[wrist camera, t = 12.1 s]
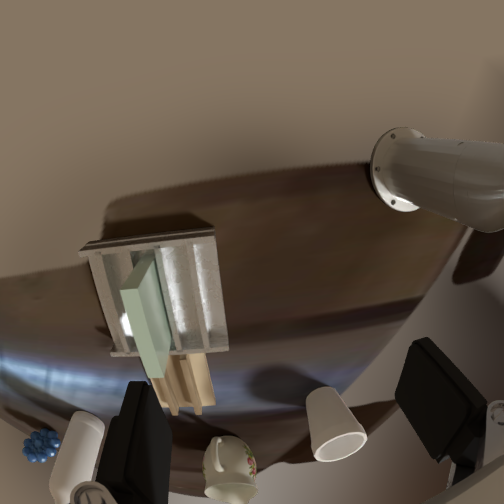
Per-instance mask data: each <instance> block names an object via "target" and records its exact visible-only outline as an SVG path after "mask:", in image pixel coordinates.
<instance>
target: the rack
mask: <svg viewBox="0 0 504 504" xmlns="http://www.w3.org/2000/svg"><path fill="white" fill-rule="evenodd" d="M78 254H79V257H87V256H88V259H89V263H90V267H91V270H92V274H93V278H94V282H95V285H96V289H97V292H98V295H99V299H100V302H101V305H102V308H103V312H104V315H105V318H106V321H107V324H108V327H109V329H110V332H111V335H112V338H113V341H114V345H113V347H112V349H111V351H110V354H111V356H112V357H124V356H140V354H139V351H138V348H137V345H136V342H135V339H134V336H133V333H132V330H131V327H130V324H129V321H128V317H127V314H126V311H125V307H124V304H123V300H122V297H121V293H120V289H121V287H122V286H123V284H124V283H125V281H126V279H127V278H128V276H129V275H130V273H131V272H132V270H133V269H134V267H135V266H136V264H137V263H138V261H139V260H140V258H141V257H142V256H146V255H155V257H156V262H157V267H158V272H159V277H160V282H161V287H162V292H163V296H164V301H165V305H166V309H167V314H168V318H169V322H170V326H171V330H172V334H173V335H172V339H171V344H170V349H169V354H168V355H180V354H195V353H208V352H220V351H229V343H228V332H227V325H226V317H225V310H224V302H223V294H222V286H221V278H220V270H219V262H218V253H217V244H216V235H215V226H214V227H205V228H195V229H186V230H177V231H168V232H160V233H151V234H143V235H135V236H127V237H119V238H112V239H104V240H97V241H90V242H88V243H87V244H86V245H85V246H84V247H83V248H82V249H80V251H78Z"/></svg>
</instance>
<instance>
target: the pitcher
mask: <svg viewBox="0 0 504 504" xmlns="http://www.w3.org/2000/svg"><path fill="white" fill-rule="evenodd" d="M202 470H203V476H204V478H205V481H206V487H205V491H204V492H205V494H206V495H207V496H208V497H209V498H212V499H214V500H218V501H222V502H227V503H230V504H248V502H249V500H250V499H251V498H253V497H254V496H256V495H257V493H258V488H257V486H256V483H255V478H256V463H255V459H254V456H253V454H252V452H251V450H250V449H249V447H248V446H247V445H246V443H244V442H243V441H242V440H241V439H240V438H238V437H235V436H221V437H214V438H213V439H212V440H211V443H210V445H209V446H208V448H207V450H206V452H205V454H204V458H203V464H202Z"/></svg>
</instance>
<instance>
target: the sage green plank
mask: <svg viewBox="0 0 504 504" xmlns="http://www.w3.org/2000/svg"><path fill="white" fill-rule="evenodd" d="M120 293H121V297H122V300H123V304H124V307H125V311H126V314H127V317H128V321H129V324H130V327H131V330H132V333H133V336H134V339H135V342H136V345H137V348H138V351H139V354H140V357H141V360H142V362H143V365H144V368H145V370H146V373H147V376H148V378H164V375H165V370H166V365H167V359H168V354H169V349H170V344H171V339H172V335H173V334H172V330H171V326H170V322H169V318H168V314H167V309H166V305H165V301H164V296H163V292H162V287H161V282H160V277H159V272H158V267H157V262H156V257H155V255H146V256H142V257H141V258H140V260H139V261H138V263H137V264H136V266H135V267H134V269H133V270H132V272H131V273H130V275H129V276H128V278H127V279H126V281H125V283H124V284H123V286H122V287H121V289H120Z"/></svg>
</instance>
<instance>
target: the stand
mask: <svg viewBox="0 0 504 504" xmlns="http://www.w3.org/2000/svg"><path fill="white" fill-rule="evenodd" d="M150 379H151V382H152V384H153V387H154V390H155V392H156V395H157V397H158V399H159V402H160V404H161V407H169V408H170V411H171V413H172V415H178V410H179V407H192V406H193V407H194V410H195V413H196V415H201V414H202V406H210V405H216V401H215V395H214V391H213V387H212V382H211V378H210V373H209V369H208V364H207V359H206V354H205V353H195V354H180V355H168V359H167V365H166V370H165V375H164V378H150Z"/></svg>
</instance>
